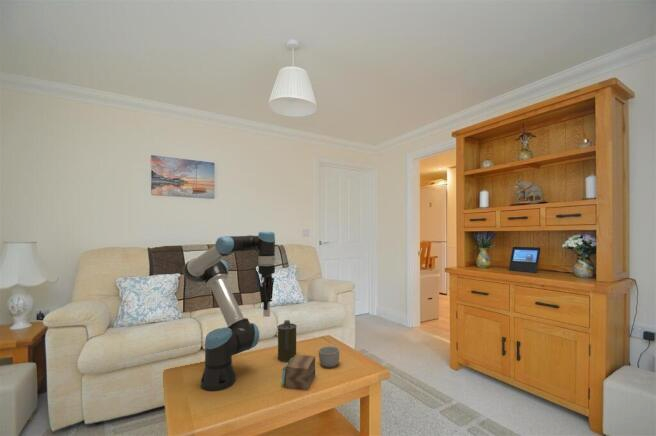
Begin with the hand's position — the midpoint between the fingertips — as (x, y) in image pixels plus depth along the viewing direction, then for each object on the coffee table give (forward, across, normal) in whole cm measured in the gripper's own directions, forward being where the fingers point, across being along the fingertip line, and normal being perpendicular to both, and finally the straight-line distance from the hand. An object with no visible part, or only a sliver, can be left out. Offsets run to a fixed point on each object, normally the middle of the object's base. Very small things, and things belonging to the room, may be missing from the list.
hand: (266, 316), depth 146 cm
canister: (+31, +28, 0) cm, 41 cm away
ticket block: (+30, +4, -15) cm, 34 cm away
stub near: (+26, +1, -9) cm, 28 cm away
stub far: (+26, +7, -9) cm, 29 cm away
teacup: (+31, +26, -24) cm, 47 cm away
